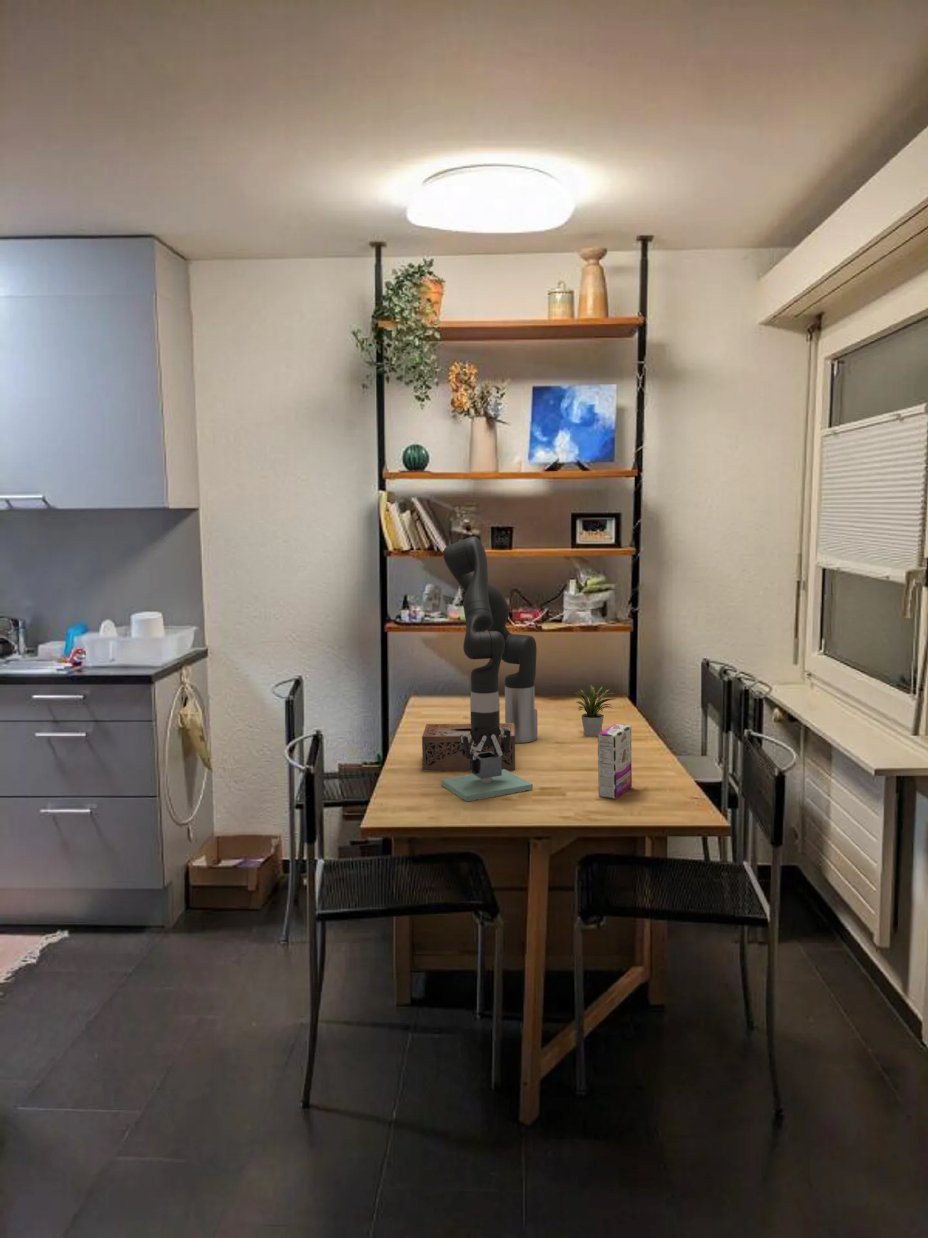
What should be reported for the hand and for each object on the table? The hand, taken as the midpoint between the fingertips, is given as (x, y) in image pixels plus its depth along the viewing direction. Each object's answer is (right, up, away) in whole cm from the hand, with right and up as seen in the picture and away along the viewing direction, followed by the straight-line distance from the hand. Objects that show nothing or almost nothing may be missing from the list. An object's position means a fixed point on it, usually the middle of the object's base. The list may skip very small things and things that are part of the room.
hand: (485, 771), depth 228 cm
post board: (0, -4, +1) cm, 4 cm away
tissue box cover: (-4, -2, +23) cm, 24 cm away
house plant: (+35, +2, +50) cm, 61 cm away
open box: (0, -1, 0) cm, 1 cm away
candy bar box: (+33, -5, -5) cm, 33 cm away
